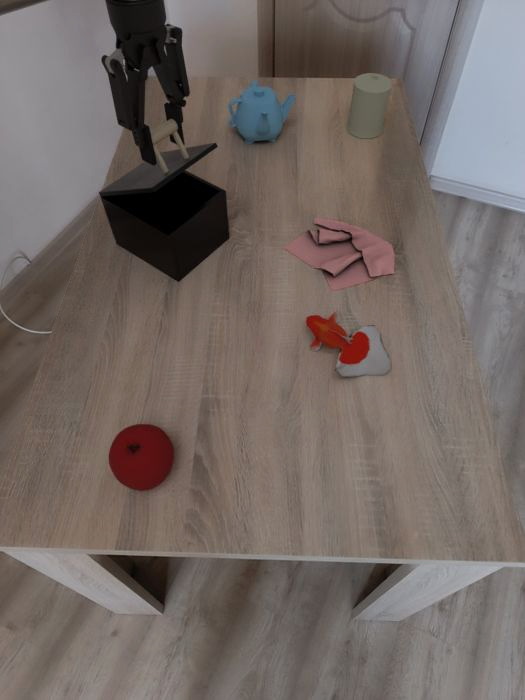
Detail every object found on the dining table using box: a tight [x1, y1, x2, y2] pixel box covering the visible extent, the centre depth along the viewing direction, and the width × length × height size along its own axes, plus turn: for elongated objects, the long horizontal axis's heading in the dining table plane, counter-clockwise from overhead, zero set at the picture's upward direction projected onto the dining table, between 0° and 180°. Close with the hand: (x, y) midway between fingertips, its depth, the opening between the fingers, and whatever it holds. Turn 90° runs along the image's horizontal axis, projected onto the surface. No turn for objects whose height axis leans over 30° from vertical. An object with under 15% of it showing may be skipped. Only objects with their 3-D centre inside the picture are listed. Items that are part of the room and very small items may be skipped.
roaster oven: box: [100, 169, 230, 283], centre depth 94 cm, size 18×16×12 cm
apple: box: [108, 423, 175, 492], centre depth 67 cm, size 9×9×10 cm
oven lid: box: [98, 119, 219, 197], centre depth 83 cm, size 18×16×7 cm
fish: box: [305, 309, 392, 379], centre depth 79 cm, size 11×16×10 cm
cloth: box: [283, 217, 396, 292], centre depth 96 cm, size 20×22×2 cm
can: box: [346, 72, 393, 140], centre depth 117 cm, size 9×9×12 cm
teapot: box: [227, 80, 297, 145], centre depth 116 cm, size 15×14×11 cm
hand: (163, 152), depth 80 cm, fingers closed on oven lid, 6 cm apart
